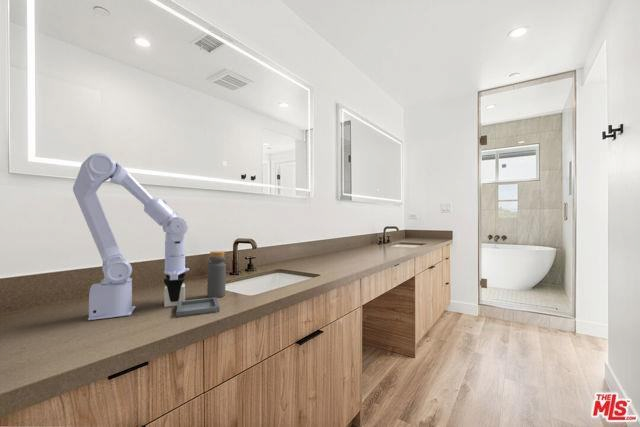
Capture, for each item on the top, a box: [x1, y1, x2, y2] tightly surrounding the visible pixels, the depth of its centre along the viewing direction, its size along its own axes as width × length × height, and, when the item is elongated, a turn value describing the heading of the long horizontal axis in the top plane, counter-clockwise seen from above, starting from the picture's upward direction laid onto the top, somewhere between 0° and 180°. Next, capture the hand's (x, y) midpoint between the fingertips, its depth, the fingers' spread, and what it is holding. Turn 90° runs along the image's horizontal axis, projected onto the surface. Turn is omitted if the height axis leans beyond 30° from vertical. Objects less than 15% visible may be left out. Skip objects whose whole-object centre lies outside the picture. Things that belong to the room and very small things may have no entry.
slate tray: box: [175, 297, 220, 318], centre depth 85 cm, size 11×11×1 cm
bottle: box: [206, 250, 227, 298], centre depth 99 cm, size 6×6×15 cm
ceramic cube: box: [163, 282, 186, 308], centre depth 90 cm, size 6×6×6 cm
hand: (175, 298), depth 90 cm, fingers closed on ceramic cube, 5 cm apart
